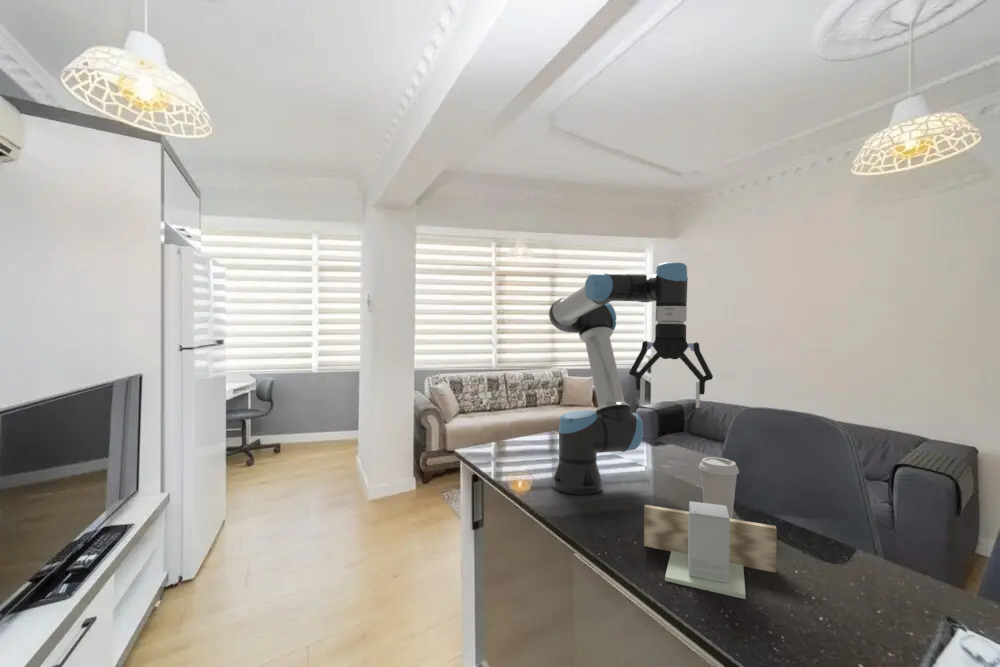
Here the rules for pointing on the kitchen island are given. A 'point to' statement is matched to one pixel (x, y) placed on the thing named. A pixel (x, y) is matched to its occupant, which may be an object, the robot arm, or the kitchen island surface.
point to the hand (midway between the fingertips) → (669, 404)
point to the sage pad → (680, 575)
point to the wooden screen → (745, 538)
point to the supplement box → (708, 541)
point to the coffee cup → (719, 481)
